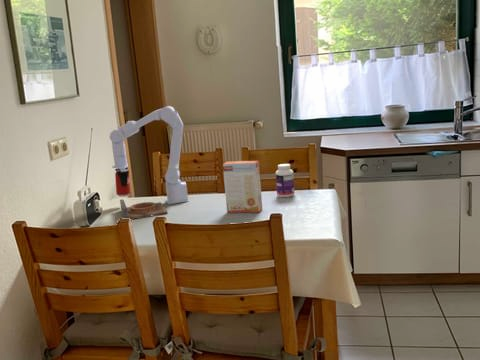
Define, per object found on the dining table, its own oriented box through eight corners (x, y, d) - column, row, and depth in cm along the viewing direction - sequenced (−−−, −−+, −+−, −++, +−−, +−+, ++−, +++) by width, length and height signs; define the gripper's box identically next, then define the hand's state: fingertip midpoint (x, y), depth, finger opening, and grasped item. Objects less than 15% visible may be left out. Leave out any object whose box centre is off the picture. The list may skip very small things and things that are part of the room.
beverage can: (127, 197, 231) (125, 171, 229) (114, 196, 232) (112, 171, 230) (132, 194, 237) (131, 169, 235) (120, 193, 238) (118, 168, 236)
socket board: (160, 204, 233) (159, 193, 232) (167, 213, 217) (166, 202, 216) (121, 210, 228) (119, 199, 227) (125, 220, 212) (123, 209, 210)
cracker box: (262, 209, 211) (259, 160, 207) (258, 213, 206) (254, 162, 202) (231, 208, 216) (227, 160, 212) (226, 212, 211) (222, 163, 206)
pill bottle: (274, 195, 233) (272, 164, 230) (291, 192, 235) (289, 162, 232) (280, 199, 225) (278, 167, 222) (297, 196, 227) (295, 165, 224)
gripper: (110, 154, 236) (113, 183, 239) (112, 159, 223) (116, 188, 226) (125, 152, 238) (129, 180, 241) (128, 156, 225) (132, 186, 228)
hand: (123, 184), depth 234 cm, fingers closed on beverage can, 6 cm apart
